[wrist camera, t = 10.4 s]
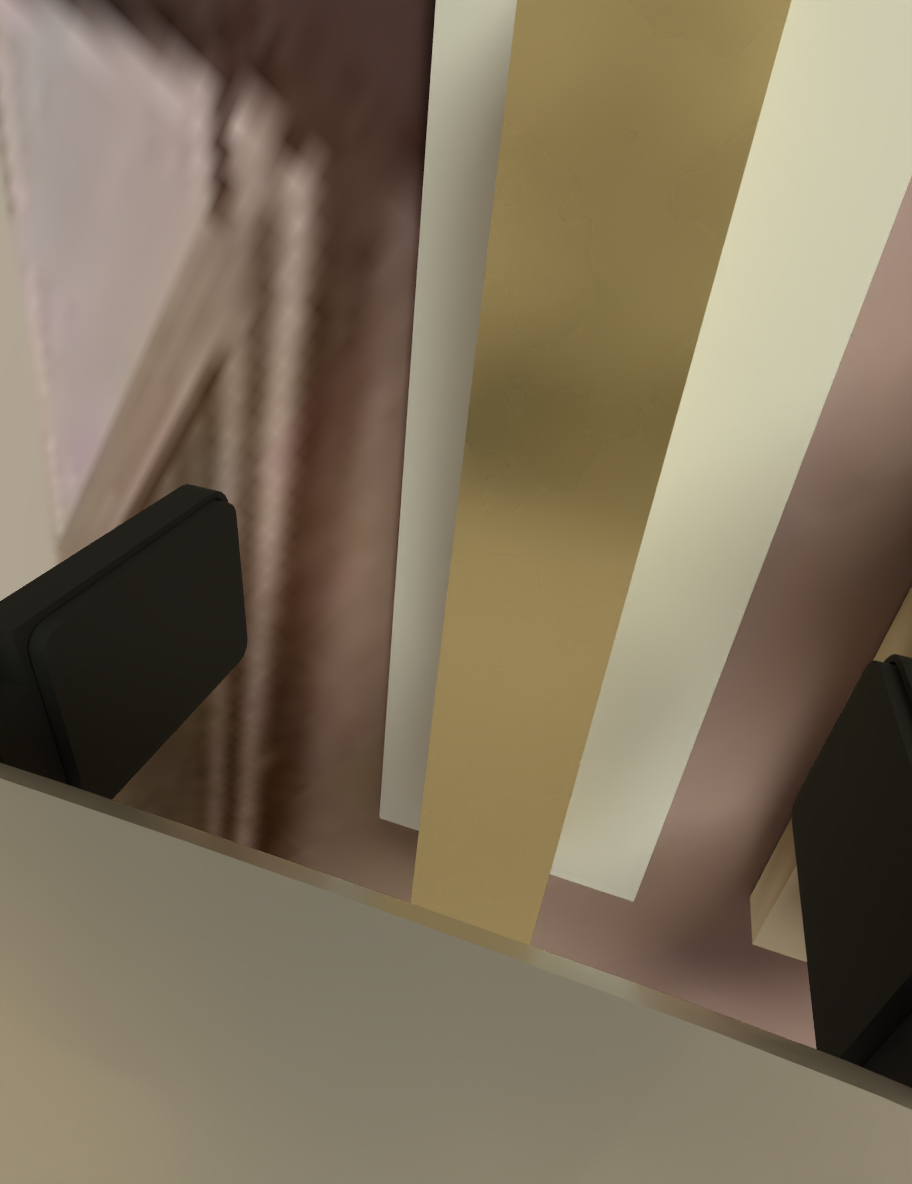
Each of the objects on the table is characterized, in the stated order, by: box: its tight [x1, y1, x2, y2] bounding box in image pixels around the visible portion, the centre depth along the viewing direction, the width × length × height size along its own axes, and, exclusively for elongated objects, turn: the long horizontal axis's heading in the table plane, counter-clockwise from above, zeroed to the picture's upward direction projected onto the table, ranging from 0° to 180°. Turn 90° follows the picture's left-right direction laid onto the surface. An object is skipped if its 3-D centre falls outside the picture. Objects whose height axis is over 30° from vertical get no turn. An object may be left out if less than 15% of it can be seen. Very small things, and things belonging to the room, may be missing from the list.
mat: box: [379, 0, 912, 902], centre depth 16 cm, size 22×8×1 cm, turn 175°
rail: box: [411, 0, 792, 945], centre depth 14 cm, size 20×3×4 cm, turn 175°
